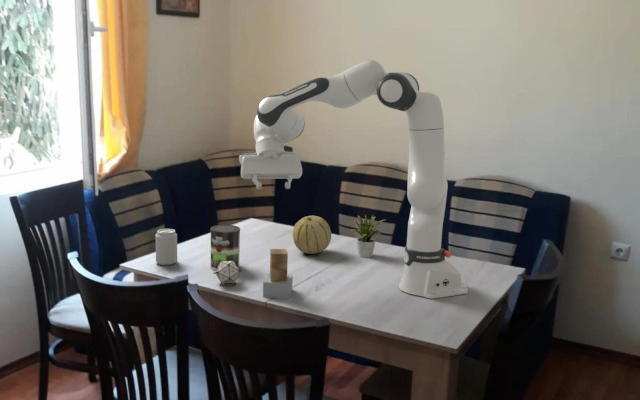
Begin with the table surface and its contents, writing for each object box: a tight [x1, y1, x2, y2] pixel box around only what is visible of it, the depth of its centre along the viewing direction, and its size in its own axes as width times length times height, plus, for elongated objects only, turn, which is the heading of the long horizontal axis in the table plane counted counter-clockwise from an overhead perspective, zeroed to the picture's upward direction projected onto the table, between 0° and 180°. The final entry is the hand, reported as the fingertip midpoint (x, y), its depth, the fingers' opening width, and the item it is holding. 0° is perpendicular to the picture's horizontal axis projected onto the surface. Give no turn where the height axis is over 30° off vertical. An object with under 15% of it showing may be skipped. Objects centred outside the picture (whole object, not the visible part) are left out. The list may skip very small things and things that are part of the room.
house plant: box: [351, 214, 388, 258], centre depth 242 cm, size 14×14×16 cm
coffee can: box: [209, 224, 241, 271], centre depth 224 cm, size 10×10×14 cm
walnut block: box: [269, 248, 289, 282], centre depth 200 cm, size 5×5×9 cm
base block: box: [262, 273, 294, 299], centre depth 202 cm, size 8×8×5 cm
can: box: [155, 228, 178, 266], centre depth 226 cm, size 8×8×12 cm
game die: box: [213, 258, 242, 286], centre depth 208 cm, size 9×8×10 cm
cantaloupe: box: [292, 215, 332, 255], centre depth 243 cm, size 15×15×15 cm
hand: (273, 188), depth 207 cm, fingers open, 8 cm apart
